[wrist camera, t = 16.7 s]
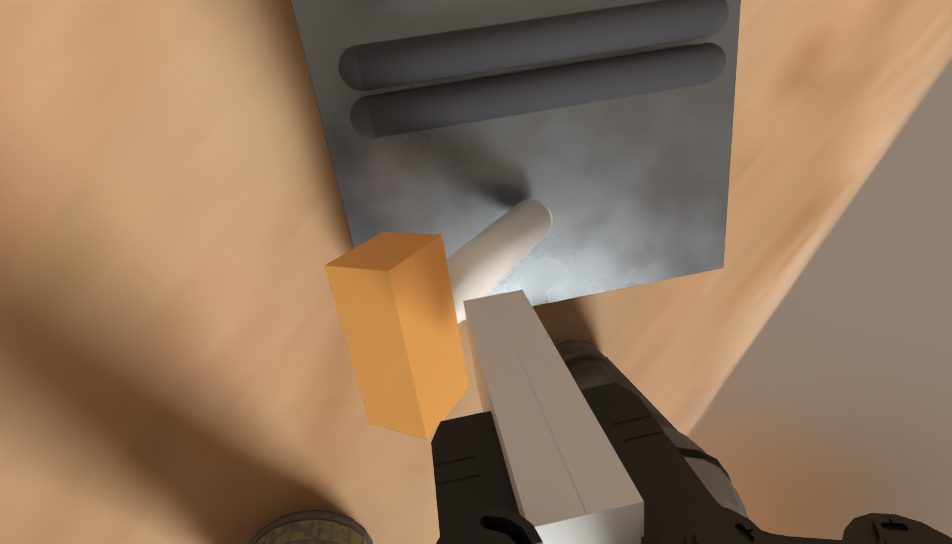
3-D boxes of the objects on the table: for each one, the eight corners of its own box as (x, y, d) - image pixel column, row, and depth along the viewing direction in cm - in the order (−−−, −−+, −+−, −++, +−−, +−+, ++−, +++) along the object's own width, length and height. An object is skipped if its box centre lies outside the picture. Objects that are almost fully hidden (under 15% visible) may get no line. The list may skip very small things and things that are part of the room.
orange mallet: (523, 263, 23) (369, 423, 14) (512, 157, 21) (324, 265, 12) (564, 266, 22) (427, 440, 13) (556, 155, 20) (388, 271, 11)
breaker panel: (379, 294, 29) (376, 337, 24) (260, -194, 20) (221, -273, 15) (672, 237, 30) (723, 267, 26) (682, -237, 21) (761, -320, 17)
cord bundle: (356, 138, 20) (354, 144, 19) (335, 49, 19) (331, 47, 18) (710, 80, 22) (733, 81, 20) (714, -7, 20) (739, -13, 19)
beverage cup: (549, 306, 31) (783, 657, 12) (643, 341, 33) (961, 685, 14) (498, 399, 33) (634, 818, 14) (589, 426, 35) (809, 822, 16)
